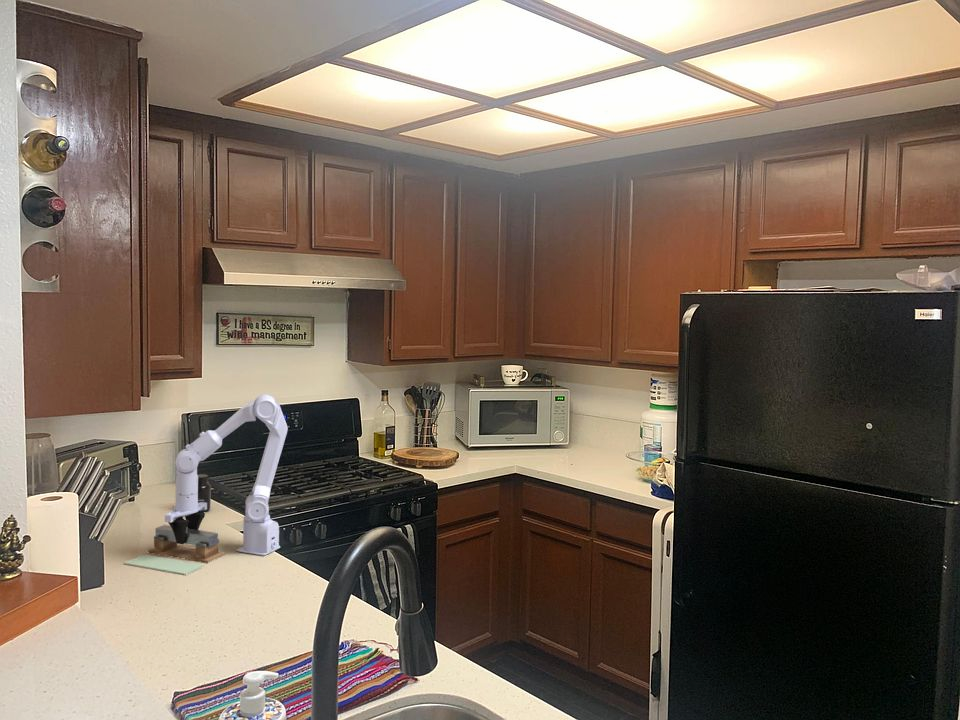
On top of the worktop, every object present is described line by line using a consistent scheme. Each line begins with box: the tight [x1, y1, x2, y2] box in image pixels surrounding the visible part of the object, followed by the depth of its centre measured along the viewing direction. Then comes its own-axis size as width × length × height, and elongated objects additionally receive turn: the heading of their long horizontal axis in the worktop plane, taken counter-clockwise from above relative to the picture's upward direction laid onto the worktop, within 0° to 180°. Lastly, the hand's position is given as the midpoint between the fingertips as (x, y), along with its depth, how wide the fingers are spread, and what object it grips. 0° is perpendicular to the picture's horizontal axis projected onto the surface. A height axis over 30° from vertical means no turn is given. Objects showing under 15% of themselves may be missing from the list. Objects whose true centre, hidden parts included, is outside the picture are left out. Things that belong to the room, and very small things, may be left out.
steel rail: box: [154, 524, 219, 547], centre depth 202 cm, size 18×4×3 cm, turn 72°
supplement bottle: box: [197, 473, 212, 513], centre depth 244 cm, size 7×7×12 cm
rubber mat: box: [123, 554, 205, 576], centre depth 193 cm, size 20×7×1 cm, turn 72°
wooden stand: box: [147, 535, 226, 564], centre depth 202 cm, size 20×7×5 cm, turn 72°
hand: (186, 541), depth 202 cm, fingers open, 4 cm apart
